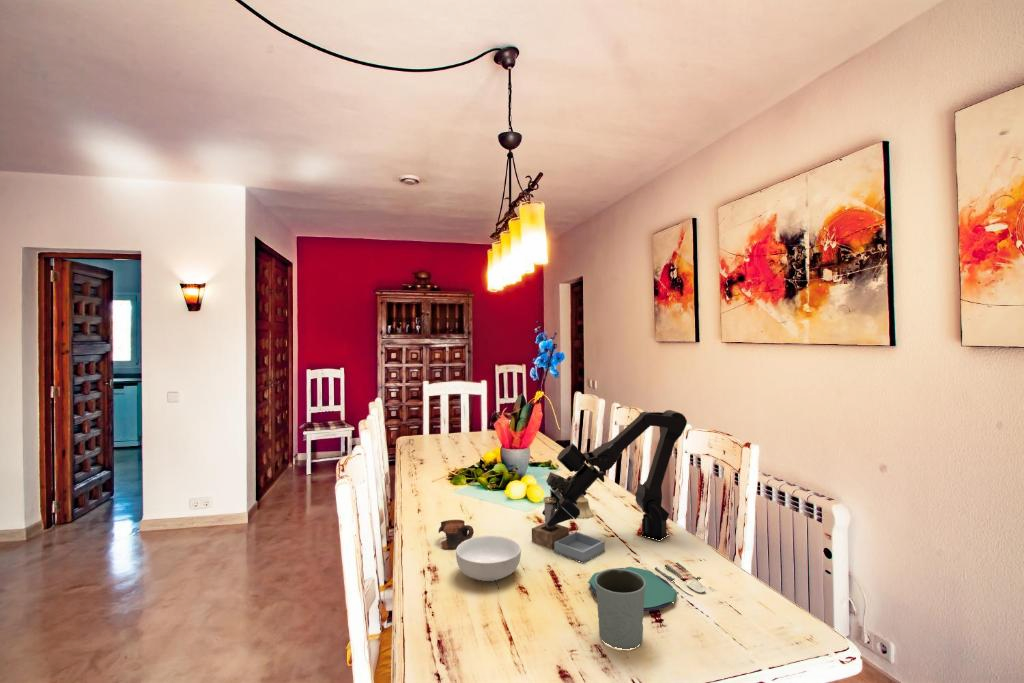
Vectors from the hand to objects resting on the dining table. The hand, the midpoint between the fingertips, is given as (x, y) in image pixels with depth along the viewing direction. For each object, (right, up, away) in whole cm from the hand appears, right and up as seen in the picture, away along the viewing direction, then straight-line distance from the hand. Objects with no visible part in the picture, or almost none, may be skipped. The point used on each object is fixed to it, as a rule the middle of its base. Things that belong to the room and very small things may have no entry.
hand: (545, 519), depth 148 cm
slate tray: (+9, -6, -8) cm, 14 cm away
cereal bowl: (-16, -7, -20) cm, 27 cm away
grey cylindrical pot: (+12, -7, -49) cm, 51 cm away
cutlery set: (+23, -7, -29) cm, 38 cm away
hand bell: (+14, -7, +23) cm, 28 cm away
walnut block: (+1, -7, 0) cm, 7 cm away
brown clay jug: (-27, -7, 0) cm, 28 cm away
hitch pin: (+1, -7, 0) cm, 7 cm away
